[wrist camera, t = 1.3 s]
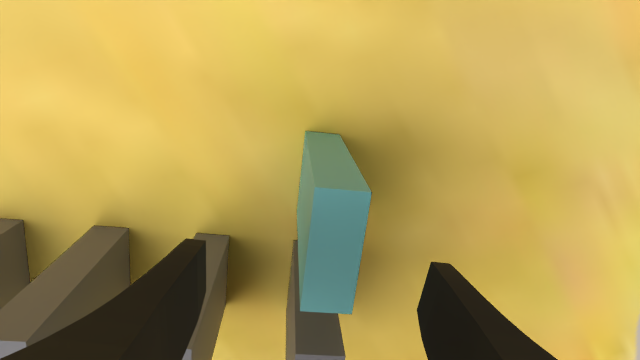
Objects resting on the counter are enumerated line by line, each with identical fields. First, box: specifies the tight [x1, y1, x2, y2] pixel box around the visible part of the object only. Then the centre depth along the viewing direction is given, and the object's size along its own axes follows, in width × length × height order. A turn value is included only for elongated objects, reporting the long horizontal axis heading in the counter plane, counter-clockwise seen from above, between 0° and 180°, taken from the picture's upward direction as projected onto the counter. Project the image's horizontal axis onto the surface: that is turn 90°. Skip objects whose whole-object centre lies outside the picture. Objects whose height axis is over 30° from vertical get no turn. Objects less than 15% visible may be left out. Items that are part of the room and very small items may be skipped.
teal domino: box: [297, 131, 372, 314], centre depth 19 cm, size 5×2×10 cm, turn 173°
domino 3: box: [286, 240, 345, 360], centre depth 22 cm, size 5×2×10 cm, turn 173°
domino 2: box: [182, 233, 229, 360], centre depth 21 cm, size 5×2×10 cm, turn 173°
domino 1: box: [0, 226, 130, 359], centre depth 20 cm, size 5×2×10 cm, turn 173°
